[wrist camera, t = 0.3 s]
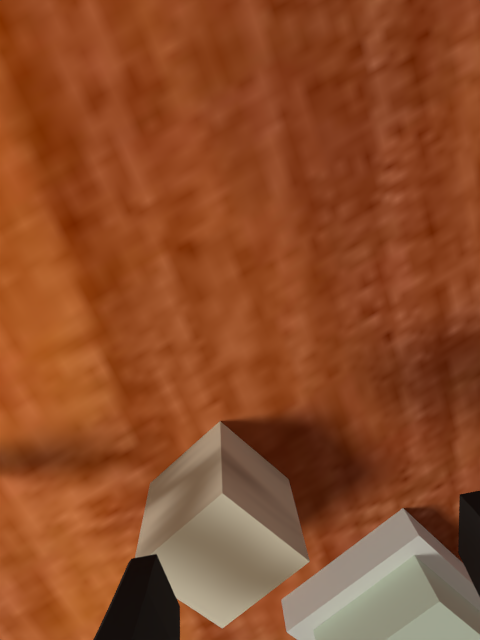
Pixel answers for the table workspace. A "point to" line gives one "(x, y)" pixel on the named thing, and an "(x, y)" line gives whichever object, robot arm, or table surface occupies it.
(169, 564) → the maple cube
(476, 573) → the robot arm
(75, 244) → the table surface
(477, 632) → the tower top
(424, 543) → the tower base
